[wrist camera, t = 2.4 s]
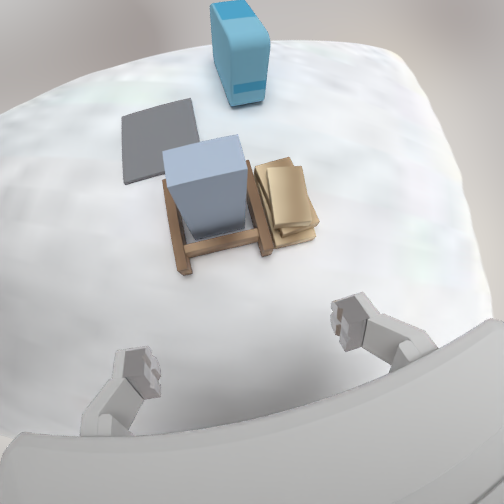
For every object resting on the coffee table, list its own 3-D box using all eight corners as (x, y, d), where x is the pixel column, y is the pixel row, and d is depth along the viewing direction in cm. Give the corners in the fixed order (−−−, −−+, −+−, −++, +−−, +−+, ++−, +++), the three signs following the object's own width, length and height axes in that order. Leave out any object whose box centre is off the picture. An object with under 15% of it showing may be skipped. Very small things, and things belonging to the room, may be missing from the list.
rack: (183, 275, 30) (177, 270, 27) (168, 191, 32) (162, 179, 29) (270, 254, 31) (274, 247, 28) (248, 173, 33) (248, 159, 30)
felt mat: (125, 184, 32) (123, 182, 32) (122, 119, 35) (121, 116, 34) (204, 163, 33) (203, 161, 33) (191, 100, 36) (190, 97, 35)
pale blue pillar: (194, 239, 31) (167, 187, 18) (189, 214, 32) (162, 151, 19) (244, 228, 32) (247, 168, 19) (238, 203, 32) (237, 134, 20)
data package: (264, 105, 36) (272, 37, 24) (231, 111, 35) (230, 41, 24) (241, 56, 38) (242, -4, 27) (213, 61, 38) (209, 0, 26)
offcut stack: (273, 249, 31) (279, 237, 27) (252, 175, 33) (254, 155, 29) (315, 239, 32) (326, 226, 27) (292, 168, 33) (298, 148, 29)
